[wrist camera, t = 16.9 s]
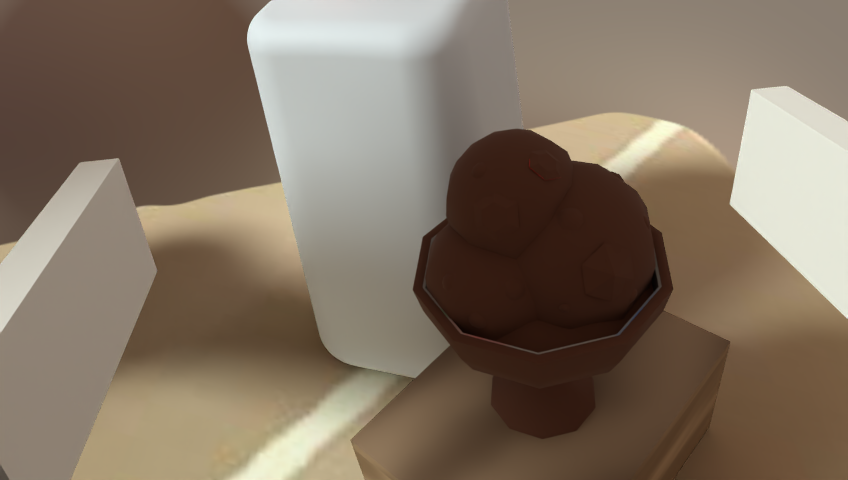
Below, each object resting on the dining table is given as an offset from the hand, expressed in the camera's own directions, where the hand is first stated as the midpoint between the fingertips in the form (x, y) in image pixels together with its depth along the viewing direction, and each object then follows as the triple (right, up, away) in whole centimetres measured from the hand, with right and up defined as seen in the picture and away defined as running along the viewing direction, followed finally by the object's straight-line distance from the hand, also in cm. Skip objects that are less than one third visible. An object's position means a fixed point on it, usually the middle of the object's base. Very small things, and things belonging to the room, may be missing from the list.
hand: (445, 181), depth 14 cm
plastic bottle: (0, -7, +38) cm, 38 cm away
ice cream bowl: (+6, -9, +21) cm, 24 cm away
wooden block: (+7, -15, +26) cm, 31 cm away
